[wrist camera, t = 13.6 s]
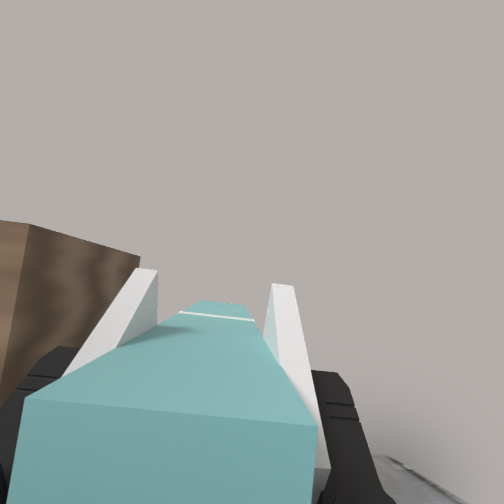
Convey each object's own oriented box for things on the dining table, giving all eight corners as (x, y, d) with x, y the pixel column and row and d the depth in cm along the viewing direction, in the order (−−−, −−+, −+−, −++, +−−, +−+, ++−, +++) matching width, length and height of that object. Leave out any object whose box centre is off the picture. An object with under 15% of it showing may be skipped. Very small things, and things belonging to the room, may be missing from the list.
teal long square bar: (291, 754, 4) (322, 423, 5) (-40, 739, 4) (21, 393, 5) (239, 348, 32) (244, 304, 33) (195, 343, 32) (201, 299, 32)
